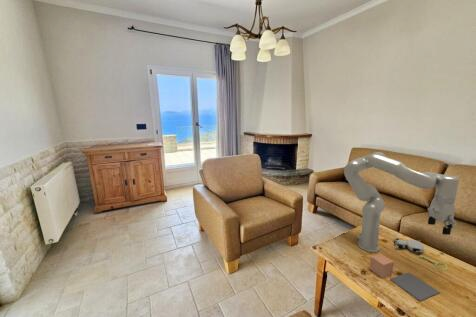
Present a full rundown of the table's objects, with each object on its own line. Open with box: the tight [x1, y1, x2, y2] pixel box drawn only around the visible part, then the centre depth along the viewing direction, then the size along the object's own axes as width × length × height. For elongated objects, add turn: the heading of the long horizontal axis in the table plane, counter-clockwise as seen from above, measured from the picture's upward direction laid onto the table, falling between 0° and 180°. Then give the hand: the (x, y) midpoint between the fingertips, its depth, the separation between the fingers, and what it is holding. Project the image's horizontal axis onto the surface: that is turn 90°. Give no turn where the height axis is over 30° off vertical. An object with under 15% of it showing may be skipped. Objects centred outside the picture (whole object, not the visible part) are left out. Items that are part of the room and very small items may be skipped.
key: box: [419, 254, 449, 271], centre depth 119 cm, size 7×12×2 cm, turn 45°
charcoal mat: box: [389, 271, 441, 303], centre depth 104 cm, size 14×14×1 cm
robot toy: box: [393, 237, 426, 254], centre depth 133 cm, size 12×4×15 cm
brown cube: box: [369, 253, 394, 279], centre depth 113 cm, size 7×7×8 cm
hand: (438, 229), depth 108 cm, fingers open, 9 cm apart
